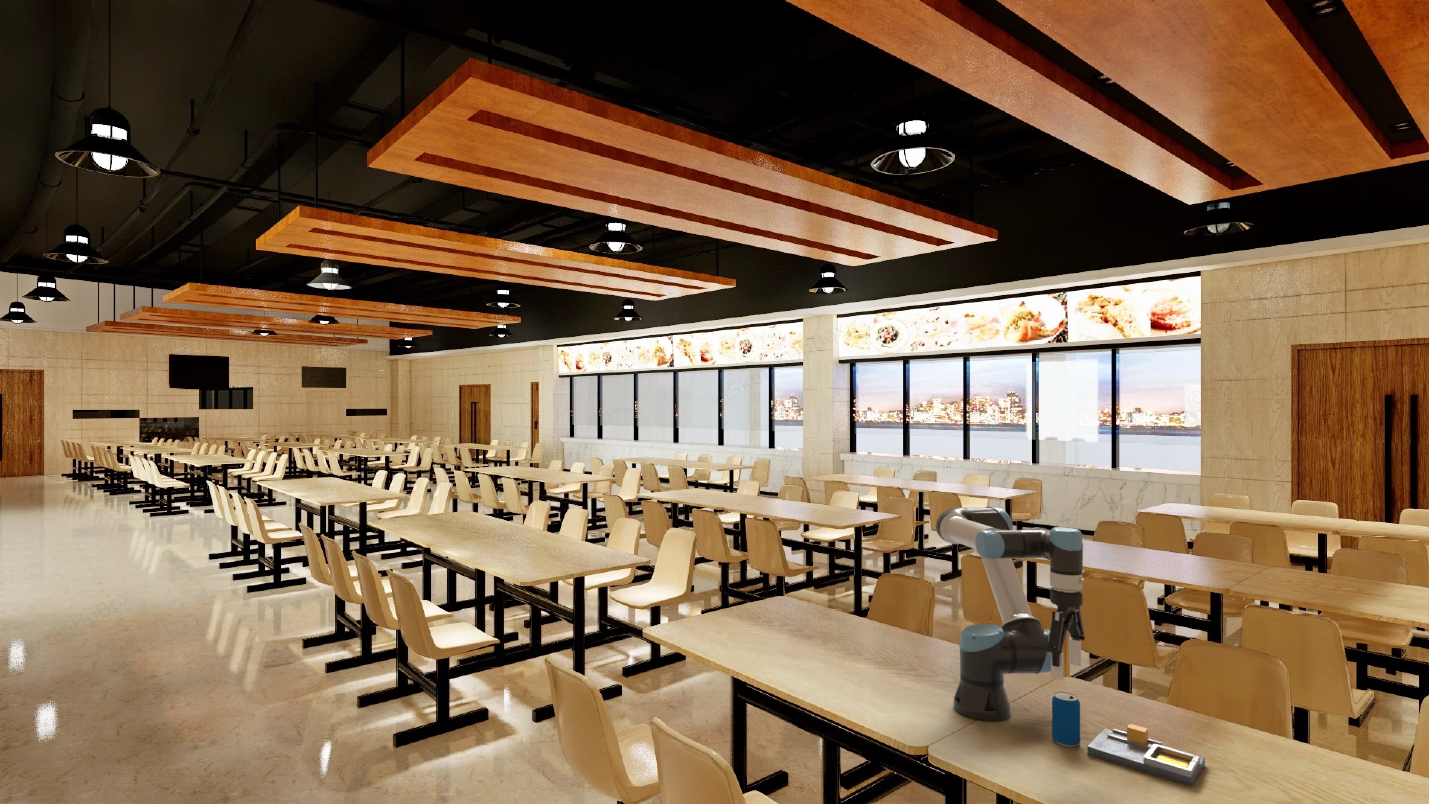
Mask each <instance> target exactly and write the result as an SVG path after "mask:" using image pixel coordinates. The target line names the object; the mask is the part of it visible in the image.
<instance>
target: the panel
mask: <svg viewBox="0 0 1429 804" xmlns="http://www.w3.org/2000/svg"><path fill="white" fill-rule="evenodd" d="M1086 748H1087V749H1086V750H1087V751H1086V752H1087V755H1088V756H1091V757H1095V758H1098V759H1100V760H1104V761H1107V762H1110V763H1114V764H1116V765H1120V766H1123V767H1124V768H1125V767H1126V768H1129V769H1132V770H1136V771H1138V772H1140V773H1145V774H1148V775H1151V776H1154V777H1158V778H1161V779H1164V780H1167V781H1170V782H1173V783H1176V784H1180V785H1183V786H1185V787H1189V788H1193V786H1194V785H1195V784H1196V782H1197V780H1198V778H1199V776H1200V775H1201V773H1202V771H1203V769H1204V768H1205V767H1206V757H1205V756H1202V755H1199V754H1195V753H1192V752H1188V751H1185V750H1181V749H1179V748H1173V747H1171V746H1167V745H1165V744H1163V743H1162V741H1158V740H1153V739H1150V738H1148V742H1147V743H1146V745H1145V744H1141V743H1138V742H1134V741H1131V740H1127V731H1122V730H1119V729H1116V728H1112V730H1111V729H1108V728H1104V729H1103V730H1102V731H1100V733H1099V734H1098V735H1097V736H1096V737H1094V739H1093V740H1091V742H1090V743H1088V745H1087V747H1086Z"/></svg>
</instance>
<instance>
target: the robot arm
mask: <svg viewBox="0 0 1429 804" xmlns="http://www.w3.org/2000/svg"><path fill="white" fill-rule="evenodd" d="M1013 527H1014V526H1013V521H1012V518H1011V517H1010V515H1009V514H1008V513H1007V511H1005V510H1004V509H1003V508H1001V507H992V506H984V507H961V506H959V507H951V508H949V509H947V510H945V511H942V513H940V514H939V516H938V517H937V519H936V522H935V530H936V533H937V535H938V536H939V537H940V539H942V541H944V542H946V543H948V544H951V545H959V544H960V545H964V546H966V547H969V548H971V549H973V551H974V552H975V553H976V554H977V555H979V556H980V558H981V561H982V564H983V566H984V570H985V574H986V575H987V579H988V582H989V585H990V588H991V591H992V595H993V597H994V600H995V603H996V606H997V609H998V611H999V615H1000V618H1001V621H1002V624H1001V625H997V624H993V623H990V624H988V623H976V624H971V625H967V626H966V627H965V628H964V629H962V630H961V632H960V637H959V638H960V639H959V643H958V645H959V671H960V672H959V676H960V677H959V682H958V685H957V687H956V691H955V693H954V696H953V708H954V710H956V712H958V713H959V714H961V715H963V716H965V717H968V718H970V719H975V720H978V721H985V722H992V721H993V722H995V721H996V722H997V721H1003V720H1007V719H1008V718H1010V716H1011V703H1010V701H1009V697H1008V693H1007V692H1006V688H1005V685H1004V682H1005V679H1004V677H1005V676H1004V675H1005V674H1009V675H1010V674H1014V675H1015V674H1036V675H1038V674H1044V673H1050V678H1051V679H1054V680H1058V681H1063V680H1064V652H1063V648H1064V644H1065V640H1066V635H1067V632H1068V634H1069V636H1070V638H1069V639H1068V642H1069V643H1068V649H1069V650H1068V653H1069V654H1068V657H1069V659H1068V664H1069V665H1074V666H1076V667H1077V666H1078V667H1081V666H1082V641H1085V640H1086V637H1085V631H1084V624H1083V619H1082V614H1081V607H1082V606H1083V599H1084V597H1083V595H1084V594H1083V591H1082V589H1083V583H1085V578H1083V571H1084V570H1083V569H1084V568H1083V565H1084V564H1083V559H1084V558H1083V556H1084V555H1083V554H1084V550H1083V549H1084V543H1083V533H1082V532H1081V530H1079V529H1077V528H1072V527H1067V526H1066V527H1065V526H1063V527H1061V526H1059V527H1058V526H1056V527H1052V528H1051V529H1047V528H1045V527H1032V528H1030V529H1013ZM1013 559H1045V560H1048V561H1049V567H1050V568H1049V569H1050V571H1049V586H1050V587H1051V588H1050V589H1049V590H1050V591H1049V595H1050V596H1049V600H1050V601H1049V602H1050V603H1051V604H1053V605H1056V607H1057V609H1056V611H1052V612H1051V623H1050V624H1051V625H1050V629H1044V628H1043V625H1042V622H1041V621H1040V619H1038V617H1037V618H1036V617H1034V616H1033V614H1032V611H1031V610H1032V609H1031V607H1030V605H1029V603H1028V600H1027V599H1028V598H1027V597H1026V594H1025V592H1024V588H1023V585H1022V583H1021V581H1020V578H1019V575H1018V572H1017V570H1016V569H1017V568H1016V567H1015V564H1014V561H1013Z"/></svg>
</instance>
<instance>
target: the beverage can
mask: <svg viewBox="0 0 1429 804" xmlns="http://www.w3.org/2000/svg"><path fill="white" fill-rule="evenodd" d="M1051 738H1052V740H1054V742H1055V743H1056V744H1058V745H1059V746H1062V747H1067V748H1074V747H1076V746H1078V745H1080V743H1081V701H1080V700H1079V697H1078V695H1076V694H1075V693H1072V692H1069V691H1055V692H1054V693H1053V696H1052V697H1051Z"/></svg>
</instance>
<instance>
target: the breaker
mask: <svg viewBox="0 0 1429 804" xmlns="http://www.w3.org/2000/svg"><path fill="white" fill-rule="evenodd" d="M1126 732H1127V740H1131V741H1134V742H1138V743H1141V744H1145V745H1146V743H1147V742H1148V739H1149V728H1148V727H1144V726H1140V725H1136V724H1132V723H1129V724H1128V726H1127V727H1126Z"/></svg>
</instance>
